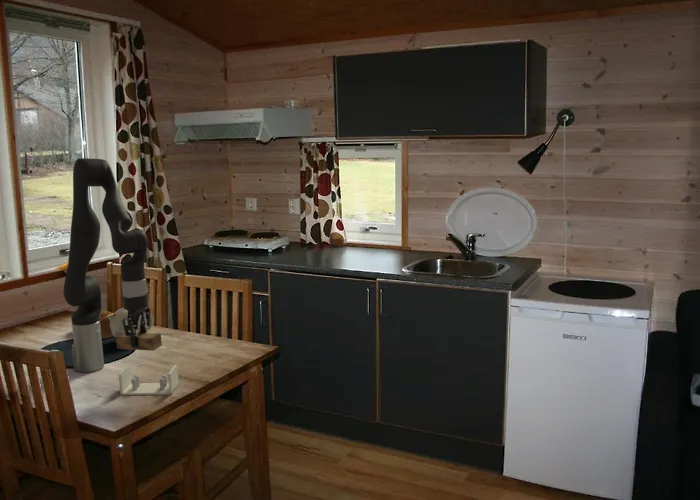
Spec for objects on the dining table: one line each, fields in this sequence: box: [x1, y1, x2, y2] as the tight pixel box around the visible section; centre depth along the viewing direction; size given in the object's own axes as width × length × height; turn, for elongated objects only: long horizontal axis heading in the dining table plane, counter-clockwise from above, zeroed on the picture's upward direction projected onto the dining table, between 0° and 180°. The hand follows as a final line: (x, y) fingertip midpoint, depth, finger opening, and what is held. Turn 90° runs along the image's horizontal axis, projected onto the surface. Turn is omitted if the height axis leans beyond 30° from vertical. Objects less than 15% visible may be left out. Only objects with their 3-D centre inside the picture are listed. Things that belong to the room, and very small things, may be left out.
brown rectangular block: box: [115, 332, 163, 352], centre depth 205 cm, size 13×5×4 cm, turn 77°
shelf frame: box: [118, 364, 180, 396], centre depth 208 cm, size 17×8×7 cm, turn 90°
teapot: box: [108, 307, 155, 338], centre depth 254 cm, size 18×14×16 cm
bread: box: [100, 308, 116, 340], centre depth 266 cm, size 19×11×10 cm, turn 45°
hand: (139, 344), depth 205 cm, fingers closed on brown rectangular block, 5 cm apart
